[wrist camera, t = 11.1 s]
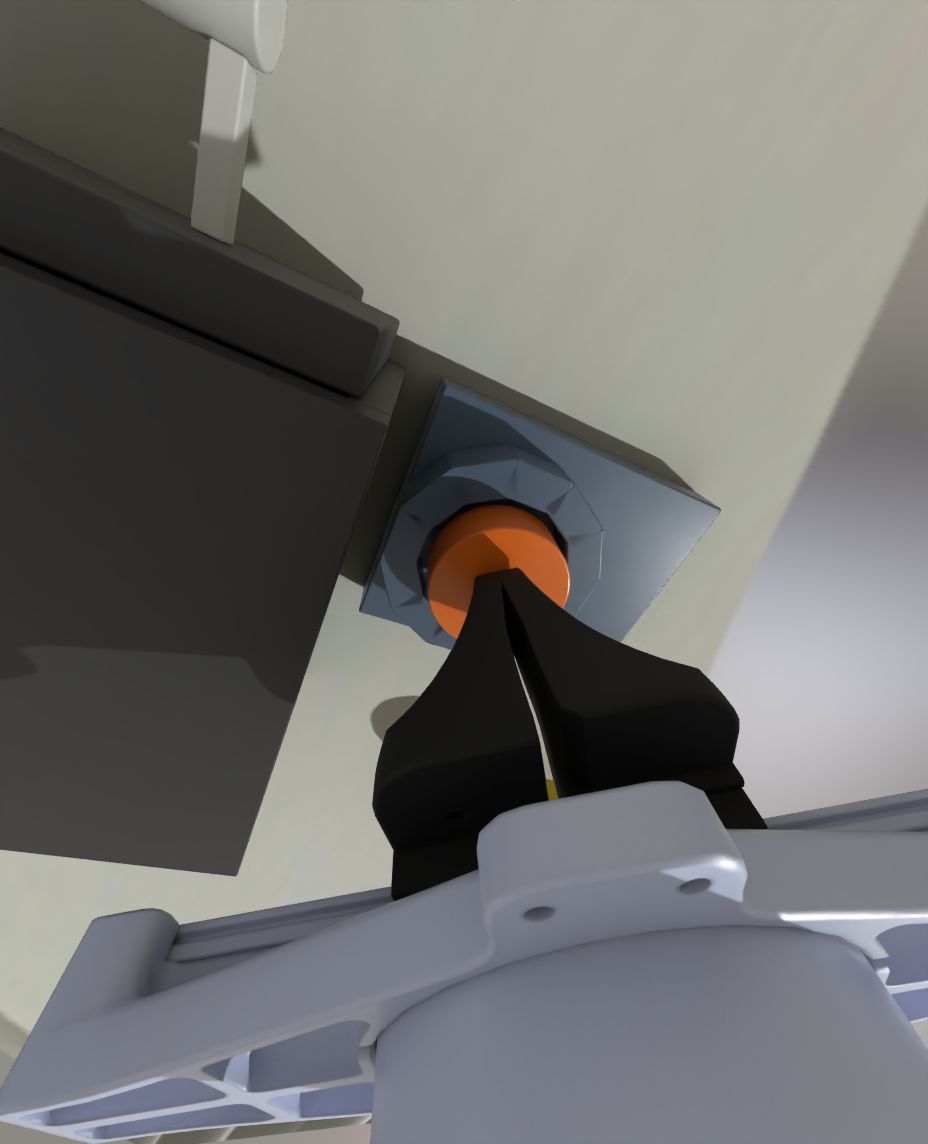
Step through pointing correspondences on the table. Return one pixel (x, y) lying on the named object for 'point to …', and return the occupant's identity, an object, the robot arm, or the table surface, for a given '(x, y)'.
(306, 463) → the charcoal grey box
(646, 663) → the robot arm
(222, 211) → the drawer
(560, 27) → the table surface
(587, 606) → the panel
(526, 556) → the button
